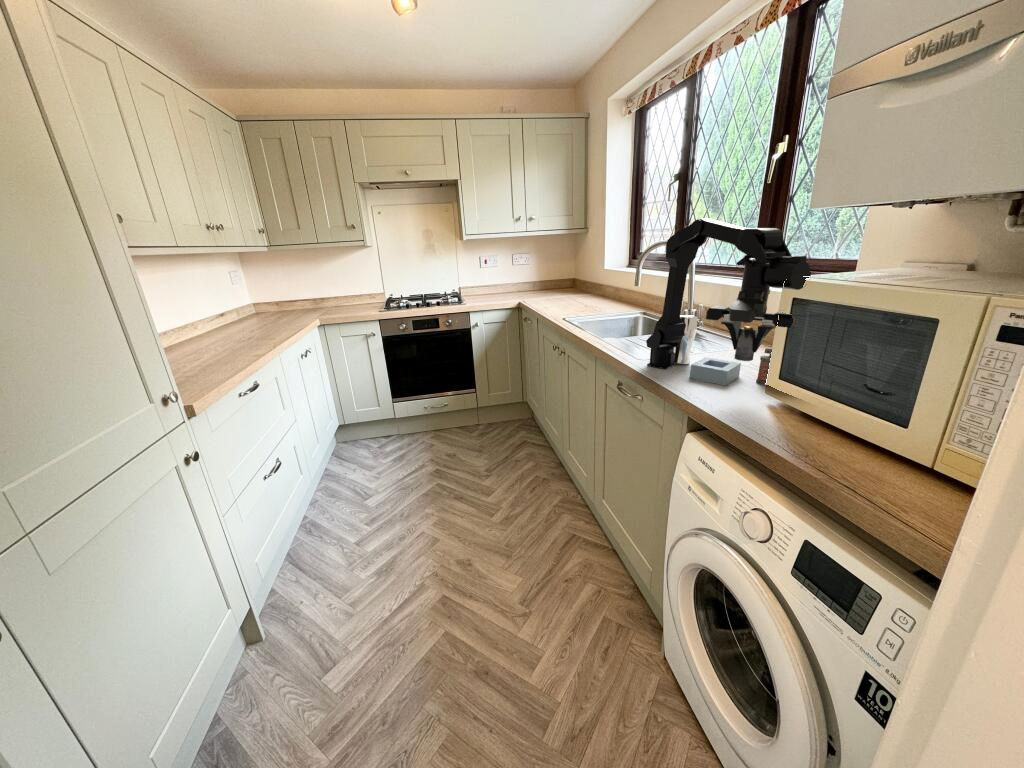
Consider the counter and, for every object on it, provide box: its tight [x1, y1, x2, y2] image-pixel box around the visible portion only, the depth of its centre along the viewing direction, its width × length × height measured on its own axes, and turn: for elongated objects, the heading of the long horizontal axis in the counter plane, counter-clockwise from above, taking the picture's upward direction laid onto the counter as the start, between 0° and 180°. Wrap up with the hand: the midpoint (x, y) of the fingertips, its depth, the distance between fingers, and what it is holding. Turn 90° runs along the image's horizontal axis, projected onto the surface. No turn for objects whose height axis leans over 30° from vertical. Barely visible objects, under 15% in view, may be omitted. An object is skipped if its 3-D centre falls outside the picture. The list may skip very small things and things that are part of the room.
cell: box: [734, 325, 758, 362], centre depth 96 cm, size 4×4×8 cm
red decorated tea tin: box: [755, 347, 773, 386], centre depth 106 cm, size 8×3×10 cm, turn 56°
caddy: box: [689, 356, 742, 386], centre depth 114 cm, size 10×10×4 cm
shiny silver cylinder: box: [674, 314, 699, 365], centre depth 127 cm, size 7×7×15 cm
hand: (744, 350), depth 97 cm, fingers closed on cell, 4 cm apart
